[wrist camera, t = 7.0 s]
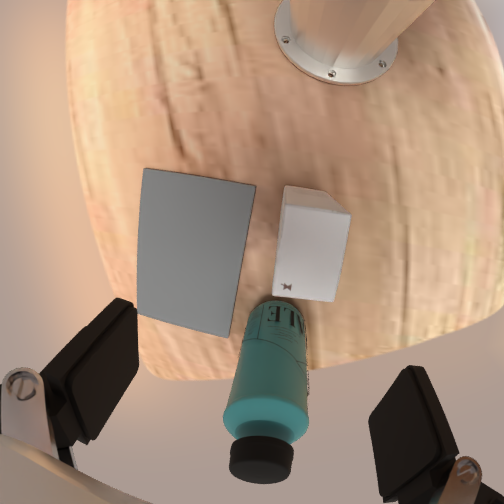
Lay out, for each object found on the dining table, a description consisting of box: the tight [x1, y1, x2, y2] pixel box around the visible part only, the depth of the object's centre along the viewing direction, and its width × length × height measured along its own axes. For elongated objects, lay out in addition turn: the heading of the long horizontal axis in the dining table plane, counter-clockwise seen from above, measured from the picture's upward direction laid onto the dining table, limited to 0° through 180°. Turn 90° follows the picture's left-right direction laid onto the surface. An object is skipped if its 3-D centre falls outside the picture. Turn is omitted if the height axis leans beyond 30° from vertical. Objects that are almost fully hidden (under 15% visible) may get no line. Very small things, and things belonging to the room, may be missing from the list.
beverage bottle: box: [223, 301, 309, 484], centre depth 23 cm, size 6×7×20 cm
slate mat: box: [137, 168, 256, 338], centre depth 31 cm, size 18×12×1 cm, turn 170°
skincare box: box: [272, 185, 352, 302], centre depth 23 cm, size 6×4×12 cm
